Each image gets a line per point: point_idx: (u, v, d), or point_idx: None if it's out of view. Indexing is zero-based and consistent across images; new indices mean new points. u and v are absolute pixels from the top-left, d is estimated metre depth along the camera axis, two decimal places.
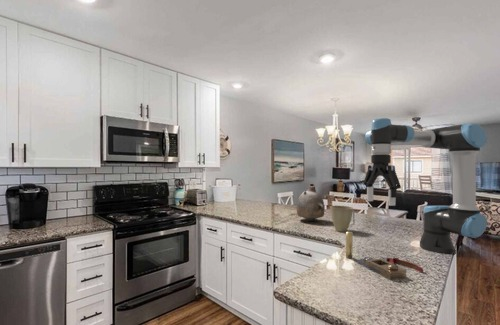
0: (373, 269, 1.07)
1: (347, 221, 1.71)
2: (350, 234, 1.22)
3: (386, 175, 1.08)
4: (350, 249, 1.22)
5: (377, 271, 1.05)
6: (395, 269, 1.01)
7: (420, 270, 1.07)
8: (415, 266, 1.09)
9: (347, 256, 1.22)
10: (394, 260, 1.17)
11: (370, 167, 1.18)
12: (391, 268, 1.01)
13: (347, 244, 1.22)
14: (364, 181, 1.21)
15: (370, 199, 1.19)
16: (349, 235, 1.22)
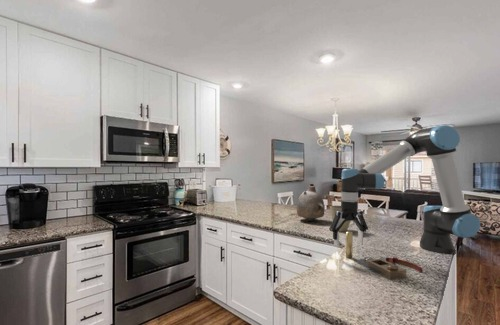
0: (373, 269, 1.07)
1: (347, 221, 1.71)
2: (350, 234, 1.22)
3: (340, 219, 1.23)
4: (350, 249, 1.22)
5: (377, 271, 1.05)
6: (395, 269, 1.01)
7: (419, 270, 1.07)
8: (414, 266, 1.10)
9: (347, 256, 1.22)
10: (393, 260, 1.18)
11: None
12: (391, 268, 1.01)
13: (347, 244, 1.22)
14: (363, 225, 1.27)
15: (359, 242, 1.25)
16: (349, 235, 1.22)
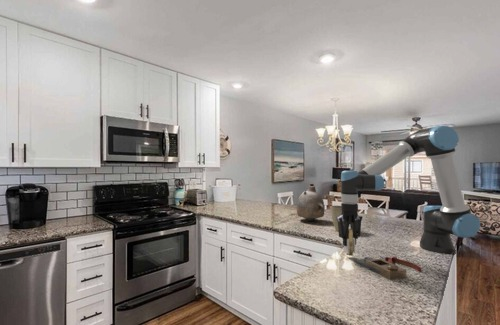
0: (373, 269, 1.07)
1: None
2: (350, 231, 1.22)
3: (344, 224, 1.23)
4: (351, 246, 1.22)
5: (377, 271, 1.05)
6: (395, 269, 1.01)
7: (418, 269, 1.08)
8: (413, 265, 1.11)
9: (348, 253, 1.22)
10: (393, 259, 1.18)
11: None
12: (391, 268, 1.01)
13: None
14: None
15: None
16: (349, 232, 1.22)
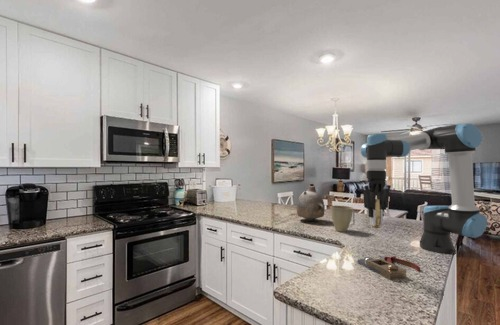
0: (373, 269, 1.07)
1: (347, 221, 1.71)
2: (377, 201, 1.10)
3: (370, 193, 1.11)
4: (377, 217, 1.09)
5: (377, 271, 1.05)
6: (395, 269, 1.01)
7: (417, 268, 1.08)
8: (412, 265, 1.11)
9: None
10: (392, 259, 1.19)
11: None
12: (391, 268, 1.01)
13: None
14: None
15: None
16: (376, 202, 1.10)
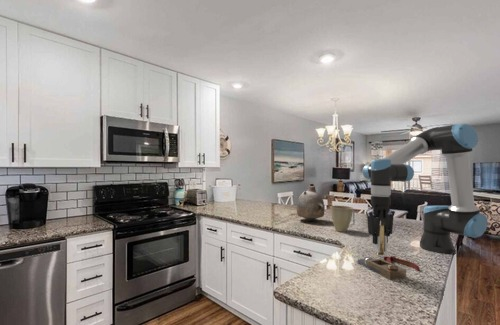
0: (373, 269, 1.07)
1: (347, 221, 1.71)
2: (382, 227, 1.08)
3: (374, 219, 1.09)
4: (382, 244, 1.07)
5: (377, 271, 1.05)
6: (395, 269, 1.01)
7: (416, 268, 1.09)
8: (412, 264, 1.12)
9: None
10: (391, 258, 1.19)
11: None
12: (391, 268, 1.01)
13: None
14: None
15: None
16: (380, 228, 1.08)
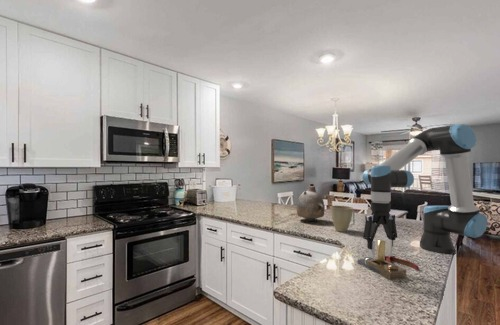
0: (373, 269, 1.07)
1: (347, 221, 1.71)
2: (383, 243, 1.08)
3: (372, 225, 1.09)
4: (382, 260, 1.07)
5: (377, 271, 1.05)
6: (395, 269, 1.01)
7: (416, 268, 1.09)
8: (411, 264, 1.12)
9: None
10: (391, 258, 1.20)
11: None
12: (391, 268, 1.01)
13: (379, 254, 1.08)
14: (391, 232, 1.12)
15: (387, 252, 1.10)
16: (381, 244, 1.08)
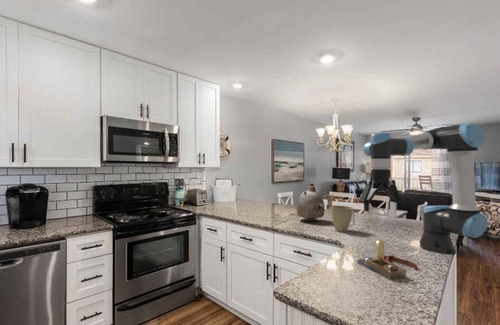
0: (373, 269, 1.07)
1: (347, 221, 1.71)
2: (382, 243, 1.08)
3: (371, 189, 1.11)
4: (382, 260, 1.07)
5: (377, 271, 1.05)
6: (395, 269, 1.01)
7: (415, 267, 1.10)
8: (410, 263, 1.13)
9: None
10: (390, 258, 1.20)
11: None
12: (391, 268, 1.01)
13: (378, 255, 1.08)
14: (395, 196, 1.15)
15: (392, 215, 1.14)
16: (380, 244, 1.08)
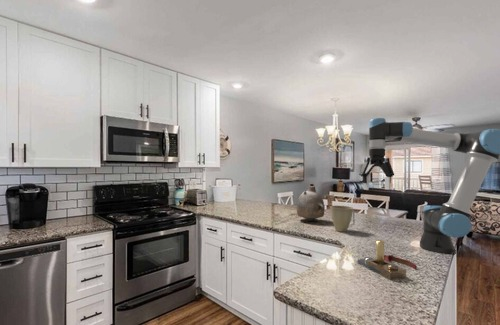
0: (373, 269, 1.07)
1: (347, 221, 1.71)
2: (382, 243, 1.07)
3: (369, 165, 1.33)
4: (382, 260, 1.07)
5: (377, 271, 1.05)
6: (395, 269, 1.01)
7: (414, 267, 1.10)
8: (409, 263, 1.13)
9: None
10: (389, 257, 1.21)
11: None
12: (391, 268, 1.01)
13: (378, 255, 1.08)
14: None
15: (386, 187, 1.36)
16: (380, 244, 1.08)
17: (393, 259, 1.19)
